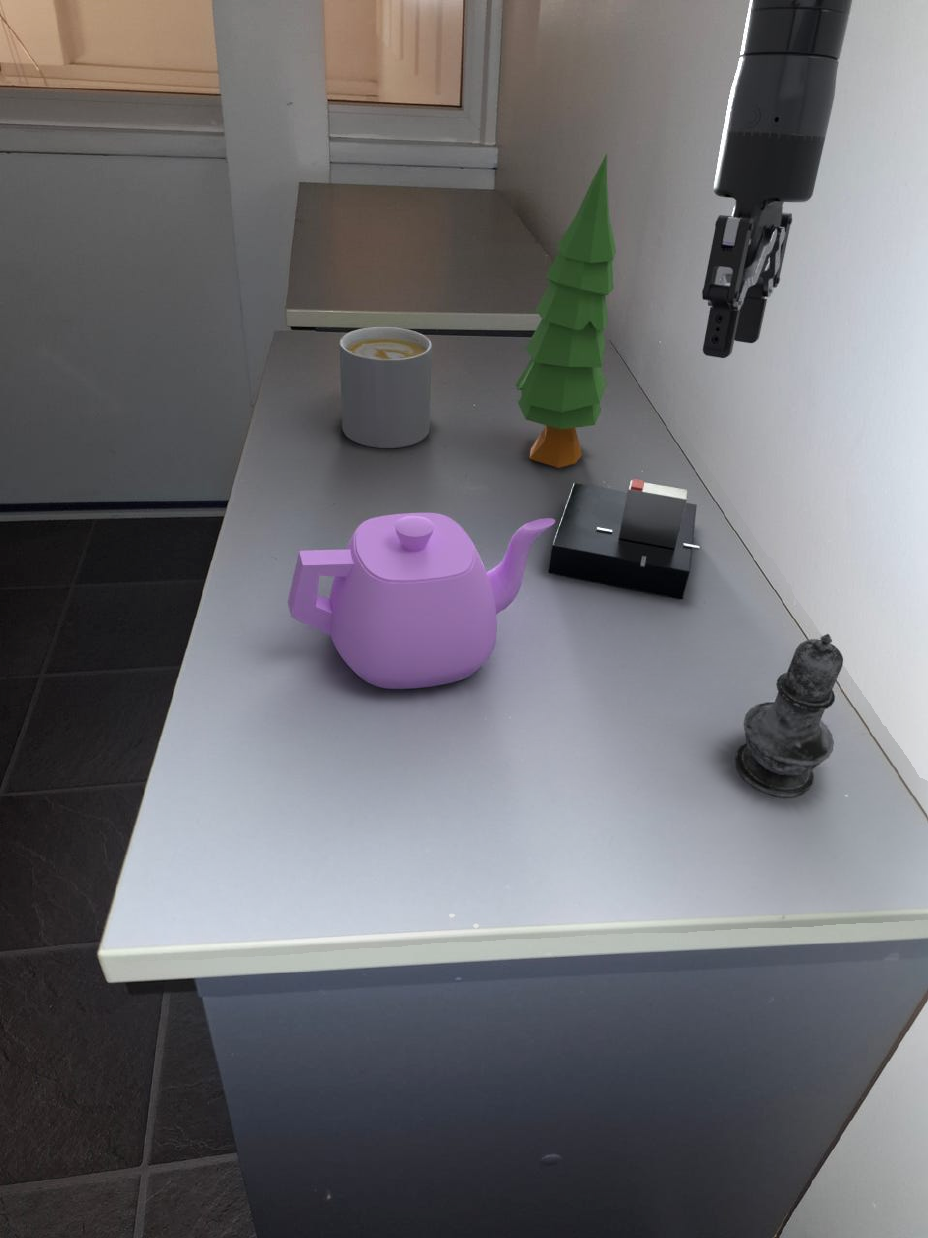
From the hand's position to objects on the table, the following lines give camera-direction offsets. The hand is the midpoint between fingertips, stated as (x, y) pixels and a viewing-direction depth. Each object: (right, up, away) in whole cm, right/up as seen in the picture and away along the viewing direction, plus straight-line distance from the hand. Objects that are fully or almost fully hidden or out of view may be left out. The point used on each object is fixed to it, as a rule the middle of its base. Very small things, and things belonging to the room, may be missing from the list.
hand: (731, 348), depth 73 cm
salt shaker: (-1, -34, -13) cm, 36 cm away
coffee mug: (-32, 0, +27) cm, 42 cm away
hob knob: (-6, -16, +4) cm, 18 cm away
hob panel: (-8, -17, +8) cm, 20 cm away
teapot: (-26, -25, -5) cm, 37 cm away
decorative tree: (-13, -5, +22) cm, 26 cm away
